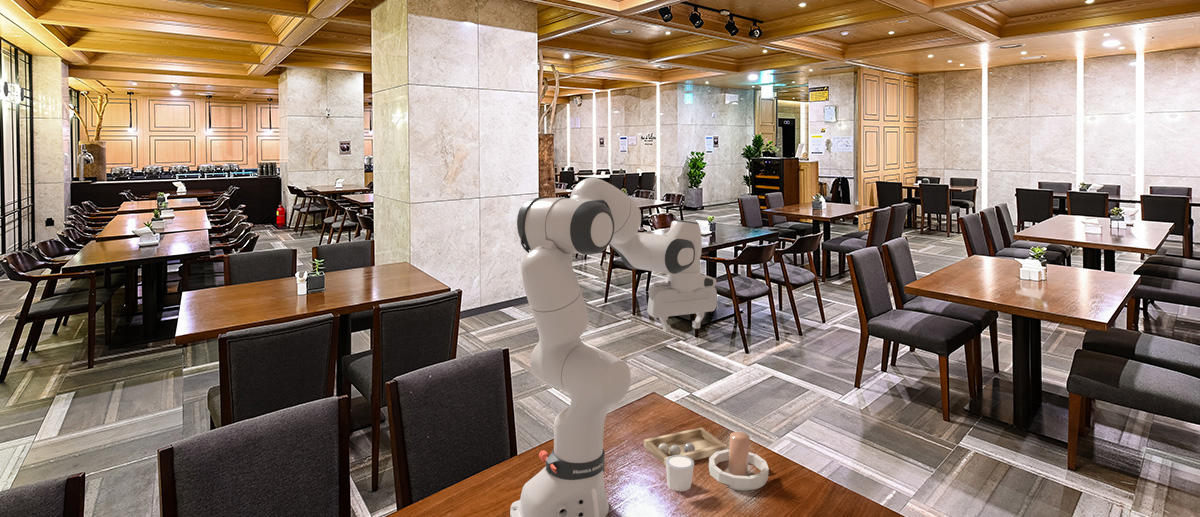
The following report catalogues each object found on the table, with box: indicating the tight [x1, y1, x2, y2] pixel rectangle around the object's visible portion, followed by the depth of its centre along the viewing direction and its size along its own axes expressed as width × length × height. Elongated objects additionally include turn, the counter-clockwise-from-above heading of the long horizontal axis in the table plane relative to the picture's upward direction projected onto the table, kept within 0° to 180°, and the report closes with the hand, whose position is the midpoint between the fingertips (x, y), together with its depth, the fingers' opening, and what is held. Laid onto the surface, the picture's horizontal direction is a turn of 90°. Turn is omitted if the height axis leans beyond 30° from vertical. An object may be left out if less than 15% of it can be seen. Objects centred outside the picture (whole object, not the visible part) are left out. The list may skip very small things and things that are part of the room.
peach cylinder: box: [727, 431, 751, 476], centre depth 155 cm, size 5×5×10 cm
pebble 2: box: [670, 445, 681, 456], centre depth 164 cm, size 3×3×3 cm
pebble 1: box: [658, 443, 669, 454], centre depth 164 cm, size 3×3×3 cm
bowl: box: [708, 448, 770, 492], centre depth 156 cm, size 14×14×3 cm
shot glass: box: [665, 455, 695, 492], centre depth 149 cm, size 7×7×7 cm
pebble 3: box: [684, 443, 695, 453], centre depth 165 cm, size 3×3×3 cm
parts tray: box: [643, 427, 728, 467], centre depth 167 cm, size 19×12×3 cm, turn 115°
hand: (681, 329), depth 167 cm, fingers open, 8 cm apart
